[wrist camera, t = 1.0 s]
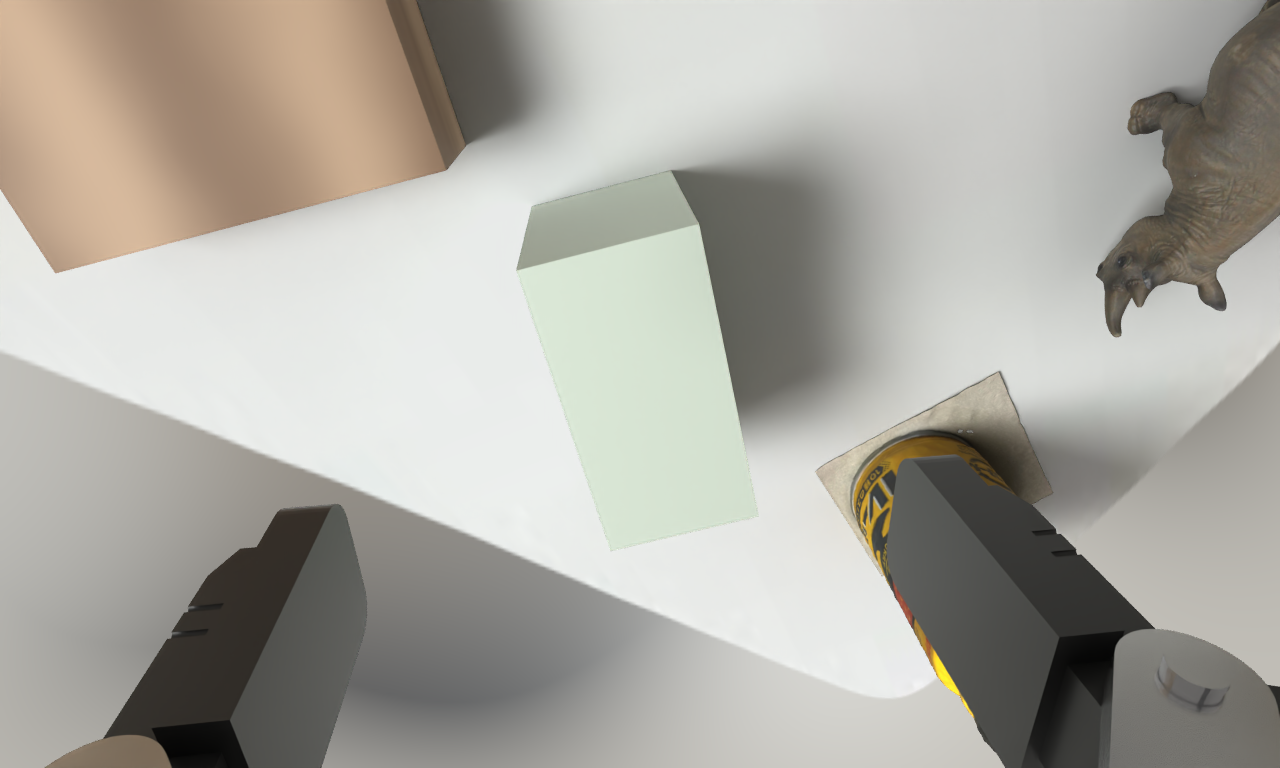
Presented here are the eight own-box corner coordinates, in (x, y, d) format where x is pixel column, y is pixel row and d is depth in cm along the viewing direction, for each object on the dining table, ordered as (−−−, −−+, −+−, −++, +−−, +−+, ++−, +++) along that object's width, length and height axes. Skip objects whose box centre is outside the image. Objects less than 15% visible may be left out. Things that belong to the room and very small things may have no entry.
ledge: (322, -273, 19) (264, -335, 16) (466, 145, 24) (446, 170, 21) (-96, -149, 20) (-243, -182, 16) (129, 234, 25) (55, 273, 21)
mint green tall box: (670, 169, 25) (698, 223, 19) (725, 426, 30) (762, 534, 24) (532, 205, 26) (516, 270, 19) (609, 454, 31) (616, 568, 25)
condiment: (813, 468, 32) (929, 704, 21) (996, 369, 30) (1222, 571, 19) (879, 573, 35) (1010, 823, 24) (1049, 488, 33) (1268, 718, 23)
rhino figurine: (1015, 290, 28) (1114, 356, 23) (1246, -113, 23) (1450, -147, 17) (1102, 317, 29) (1217, 387, 24) (1347, -64, 24) (1570, -83, 18)
